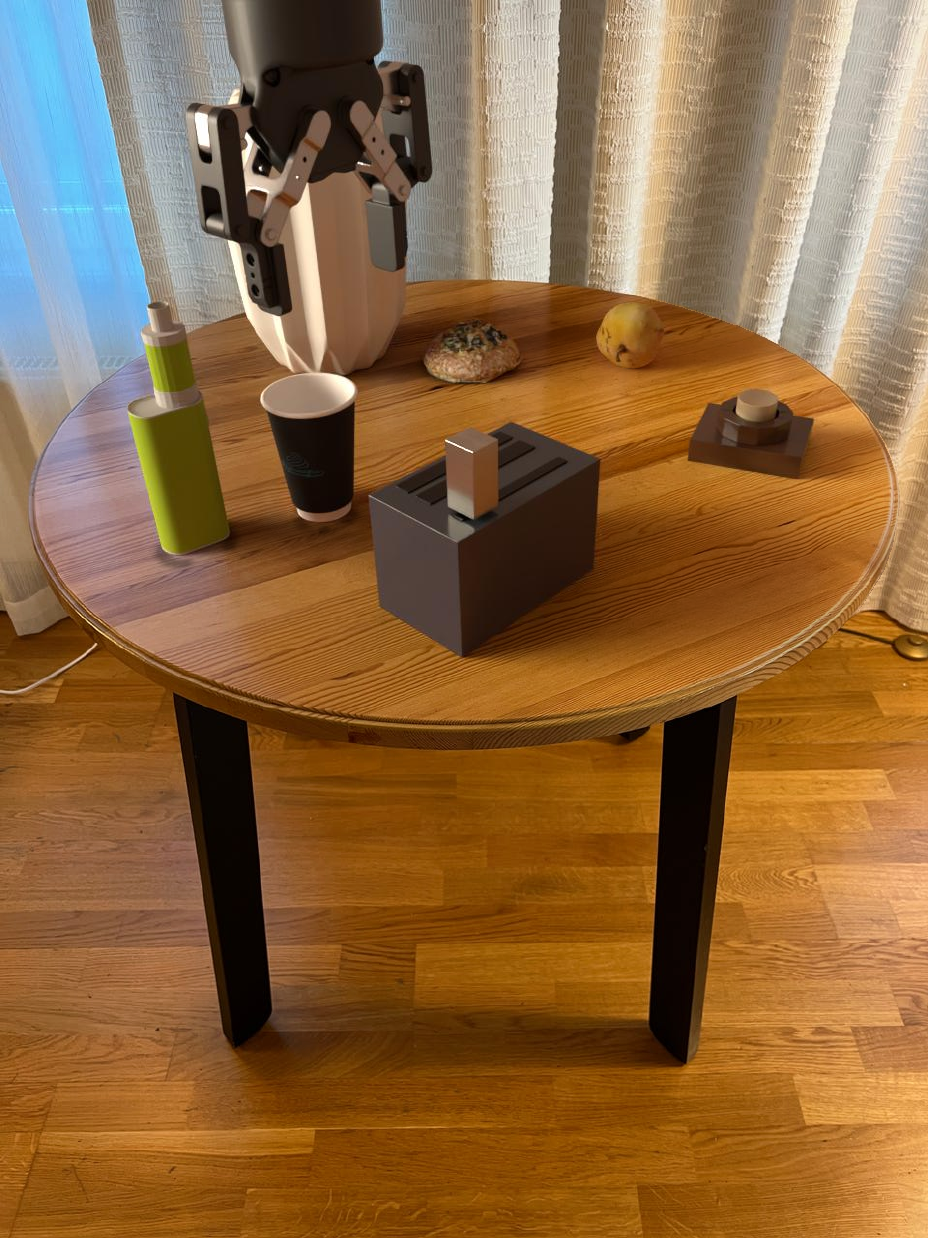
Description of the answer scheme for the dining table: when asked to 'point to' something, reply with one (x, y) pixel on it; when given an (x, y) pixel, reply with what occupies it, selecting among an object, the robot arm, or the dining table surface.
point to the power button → (756, 405)
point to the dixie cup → (315, 441)
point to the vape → (177, 442)
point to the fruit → (630, 335)
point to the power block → (751, 440)
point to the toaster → (486, 541)
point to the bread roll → (471, 353)
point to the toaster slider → (472, 472)
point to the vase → (328, 281)
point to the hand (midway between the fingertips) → (334, 288)
